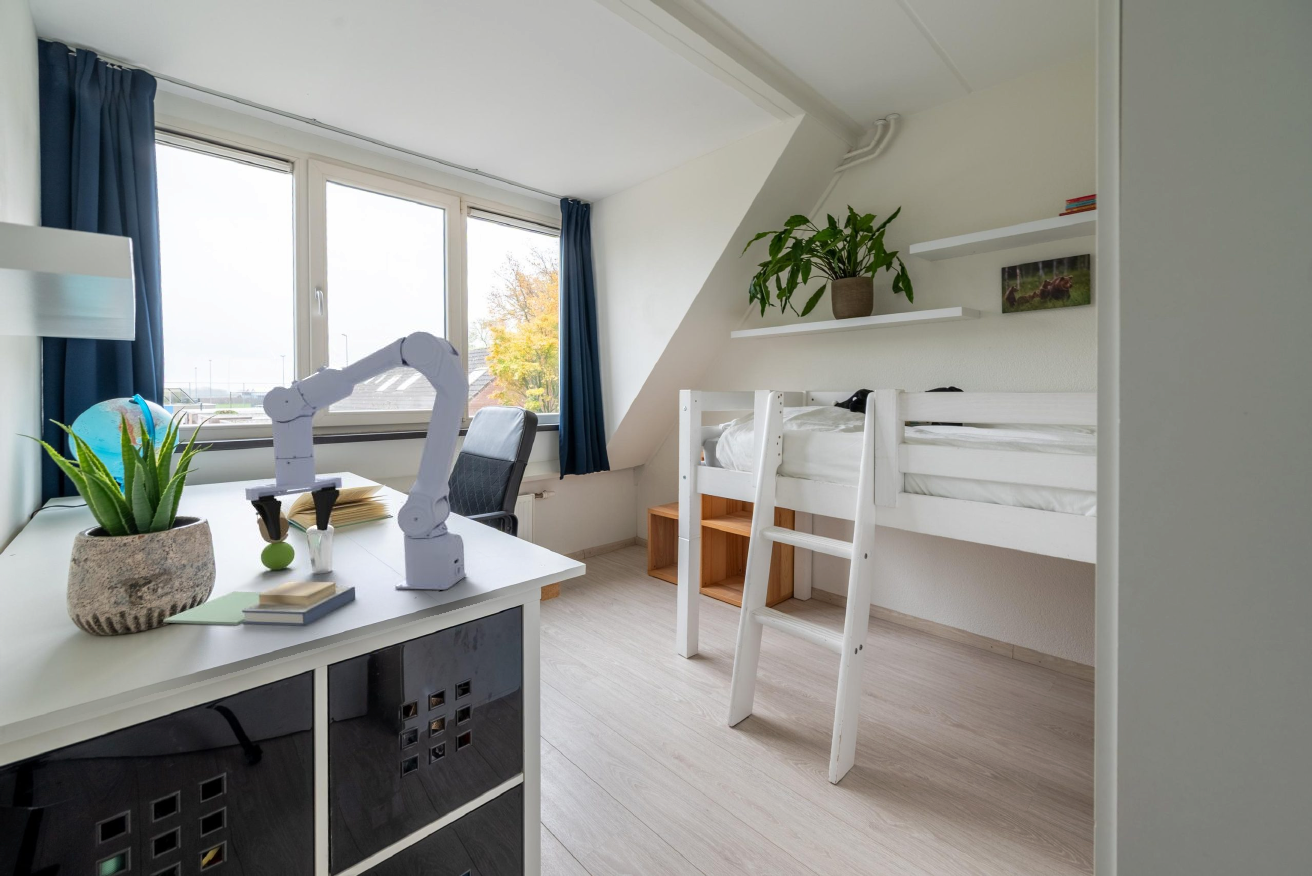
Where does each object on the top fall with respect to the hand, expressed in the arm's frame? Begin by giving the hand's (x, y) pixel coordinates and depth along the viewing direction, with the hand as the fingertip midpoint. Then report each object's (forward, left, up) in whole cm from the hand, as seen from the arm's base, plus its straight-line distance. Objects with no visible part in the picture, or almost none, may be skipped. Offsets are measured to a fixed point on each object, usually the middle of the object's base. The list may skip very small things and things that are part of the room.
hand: (299, 534), depth 95 cm
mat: (+3, +10, -9) cm, 14 cm away
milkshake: (+3, -9, -10) cm, 14 cm away
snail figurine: (+13, -9, -10) cm, 19 cm away
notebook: (-8, +10, -9) cm, 16 cm away
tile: (-8, +10, -7) cm, 14 cm away
